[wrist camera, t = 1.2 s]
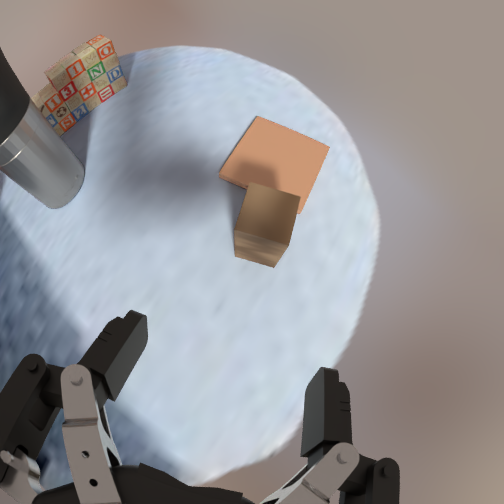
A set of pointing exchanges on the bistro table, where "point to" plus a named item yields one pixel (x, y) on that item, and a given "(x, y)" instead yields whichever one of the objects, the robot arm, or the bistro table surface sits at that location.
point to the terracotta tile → (275, 160)
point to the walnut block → (265, 224)
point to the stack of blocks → (80, 83)
